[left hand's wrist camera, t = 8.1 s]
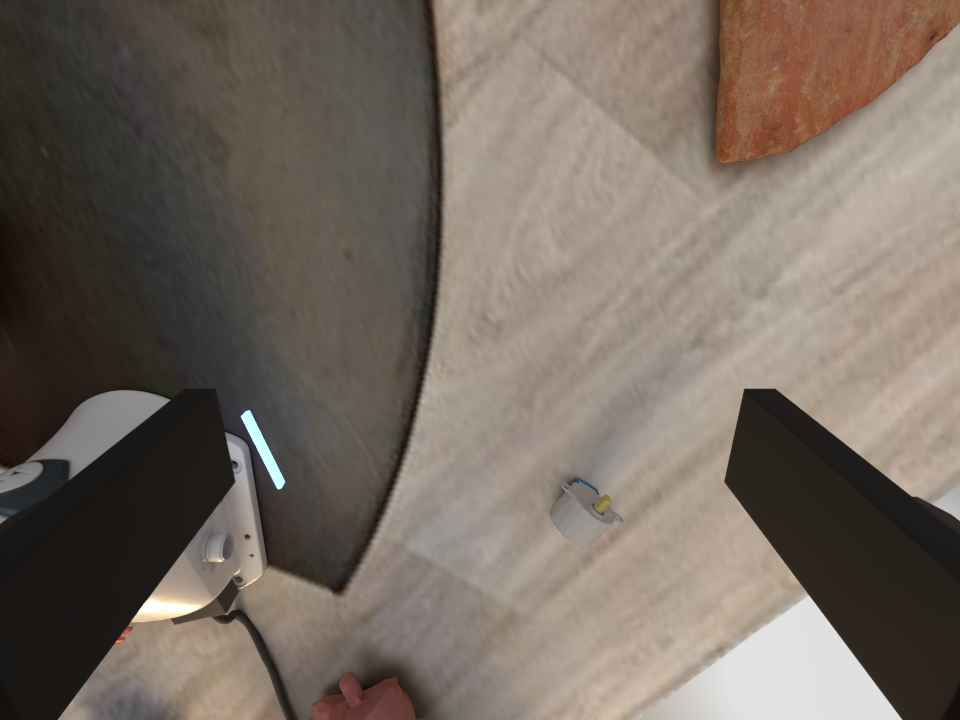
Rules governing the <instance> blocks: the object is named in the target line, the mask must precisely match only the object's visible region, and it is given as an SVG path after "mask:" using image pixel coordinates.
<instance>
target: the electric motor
mask: <svg viewBox="0 0 960 720" xmlns="http://www.w3.org/2000/svg"><path fill="white" fill-rule="evenodd" d="M560 485H561V487H562V488H563V489H564V490H565V492H564V493H563V495H562V496H561V497H560V498H559V499H558V501H557V502H556V503H555V504H554V505H553V506H552V507H551V509H550V516H551V519H552V521H553V524H554V525H555V527H556V528H557V529H558V531H559V532H560V533H561V534H562V535H563V536H564V537H565V538H566V539H567V540H569V541H570V542H571V543H573V544H575V545H577V546H579V547H581V548H589V547H590V546H591V545H592V544H593V543H594V542H595V541H596V540H597V539H598V538H599V537H600V536H601V535H602V534H603V533H604V532H605V531H606V530H607V528H608V527H609V526H610V525H611V524H612V523H613V522H614V520H615V521H617V522H618V523H620V524H623V523H624V521H623V519H622V518H621V516H620V515H619V514H617V513H615V512H614V511H612V510H611V509H610V507H609V506H608V505H609V504H610V503H611V499H610V497H609V496H608V495H604V496H603V497H602V498H601V497H600V496H599V493H598V490H597V489H595V488H594V487H592V486H590V485H589V484H587V483H585V482H584V481H582V480H580V479H579V478H577V479H576V480H575V481H574V482H573V483H572V484H571V486H570V485H568V484H566V483H565V482H561V483H560ZM564 485H565V486H566V487H567V488H568V489H566V488H565V486H564ZM616 516H617V517H618V518H619V519H620V520H619V519H618V518H617V517H616Z"/></svg>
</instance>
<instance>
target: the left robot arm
mask: <svg viewBox="0 0 960 720" xmlns="http://www.w3.org/2000/svg"><path fill="white" fill-rule="evenodd" d="M235 482H236V481H235V476H234V472H233V467H232V462H231V458H230V453H229V449H228V444H227V439H226V435H225V430H224V425H223V421H222V416H221V411H220V407H219V402H218V397H217V393H216V389H184V390H183V391H181V392H180V393H179V394H178V395H176V396H175V397H174V398H173V399H171V400H170V401H169V402H168V403H166V404H165V405H164V406H162V407H161V408H160V409H159V410H157V411H156V412H155V413H154V414H152V415H151V416H150V417H149V418H147V419H146V420H145V421H143V422H142V423H141V424H140V425H138V426H137V427H136V428H135V429H133V430H132V431H131V432H130V433H128V434H127V435H126V436H124V437H123V438H122V439H121V440H119V441H118V442H117V443H116V444H114V445H113V446H112V447H111V448H109V449H108V450H107V451H105V452H104V453H103V454H102V455H100V456H99V457H98V458H97V459H95V460H94V461H93V462H92V463H90V464H89V465H88V466H87V467H85V468H84V469H83V470H81V471H80V472H79V473H78V474H76V475H75V476H74V477H73V478H71V479H70V480H69V481H68V482H66V483H65V484H64V485H62V486H61V487H60V488H59V489H57V490H56V491H55V492H54V493H52V494H51V495H50V496H49V497H47V498H46V499H42V500H40V501H38V502H36V503H34V504H32V505H30V506H29V507H27V508H25V509H23V510H21V511H19V512H17V513H15V514H13V515H11V516H10V517H8V518H7V519H6V520H4V521H3V522H2V523H0V720H58V718H59V717H60V716H61V714H62V713H63V712H64V710H65V709H66V708H67V706H68V705H69V704H70V702H71V701H72V700H73V698H74V697H75V696H76V694H77V693H78V692H79V690H80V689H81V688H82V686H83V685H84V684H85V682H86V681H87V680H88V678H89V677H90V676H91V674H92V673H93V672H94V670H95V669H96V668H97V666H98V665H99V664H100V662H101V661H102V660H103V658H104V657H105V656H106V654H107V653H108V652H109V650H110V649H111V648H112V646H113V645H114V644H115V642H116V641H117V640H118V638H119V637H120V636H121V634H122V633H123V632H124V630H125V629H126V628H127V626H128V625H129V624H130V622H131V621H132V620H133V618H134V617H135V616H136V614H137V613H138V612H139V610H140V609H141V608H142V606H143V605H144V604H145V602H146V601H147V600H148V598H149V597H150V596H151V594H152V593H153V592H154V590H155V589H156V588H157V586H158V585H159V584H160V582H161V581H162V580H163V578H164V577H165V576H166V574H167V573H168V572H169V570H170V569H171V568H172V566H173V565H174V564H175V562H176V561H177V560H178V558H179V557H180V556H181V554H182V553H183V552H184V550H185V549H186V547H187V546H188V545H189V543H190V542H191V541H192V539H193V538H194V537H195V535H196V534H197V533H198V531H199V530H200V529H201V527H202V526H203V525H204V523H205V522H206V521H207V519H208V518H209V517H210V515H211V514H212V513H213V511H214V510H215V509H216V507H217V506H218V505H219V503H220V502H221V501H222V499H223V498H224V497H225V495H226V494H227V493H228V491H229V490H230V489H231V487H232V486H233V485H234V483H235ZM724 482H725V483H726V485H727V486H728V487H729V489H730V490H731V491H732V493H733V494H734V495H735V497H736V498H737V499H738V501H739V502H740V503H741V505H742V506H743V507H744V509H745V510H746V511H747V513H748V514H749V515H750V517H751V518H752V519H753V521H754V522H755V523H756V525H757V526H758V527H759V529H760V530H761V531H762V533H763V534H764V535H765V537H766V538H767V539H768V541H769V542H770V543H771V545H772V546H773V548H774V549H775V550H776V552H777V553H778V554H779V556H780V557H781V558H782V560H783V561H784V562H785V564H786V565H787V566H788V568H789V569H790V570H791V572H792V573H793V574H794V576H795V577H796V578H797V580H798V581H799V582H800V584H801V585H802V586H803V588H804V589H805V590H806V592H807V593H808V594H809V596H810V597H811V598H812V599H813V601H814V602H815V603H816V605H817V606H818V608H819V609H820V610H821V612H822V613H823V614H824V616H825V617H826V618H827V620H828V621H829V622H830V624H831V625H832V626H833V628H834V629H835V630H836V632H837V633H838V634H839V636H840V637H841V638H842V640H843V641H844V642H845V644H846V645H847V646H848V648H849V649H850V650H851V652H852V653H853V654H854V656H855V657H856V658H857V660H858V661H859V662H860V664H861V665H862V666H863V668H864V669H865V670H866V672H867V673H868V674H869V676H870V677H871V678H872V680H873V681H874V682H875V684H876V685H877V686H878V688H879V689H880V690H881V692H882V693H883V694H884V696H885V697H886V698H887V700H888V701H889V702H890V704H891V705H892V706H893V708H894V709H895V710H896V712H897V713H898V714H899V716H900V717H901V718H902V720H960V521H959V520H958V519H956V518H955V517H954V516H952V515H951V514H949V513H947V512H945V511H943V510H941V509H940V508H938V507H936V506H934V505H932V504H930V503H928V502H926V501H924V500H922V499H920V498H918V497H911V496H910V495H909V494H908V493H906V492H905V491H904V490H903V489H901V488H900V487H899V486H898V485H896V484H895V483H894V482H892V481H891V480H890V479H889V478H887V477H886V476H885V475H884V474H882V473H881V472H880V471H879V470H877V469H876V468H875V467H873V466H872V465H871V464H870V463H868V462H867V461H866V460H865V459H863V458H862V457H861V456H860V455H858V454H857V453H856V452H855V451H853V450H852V449H851V448H849V447H848V446H847V445H846V444H844V443H843V442H842V441H841V440H839V439H838V438H837V437H836V436H834V435H833V434H832V433H830V432H829V431H828V430H827V429H825V428H824V427H823V426H822V425H820V424H819V423H818V422H817V421H815V420H814V419H813V418H811V417H810V416H809V415H808V414H806V413H805V412H804V411H803V410H801V409H800V408H799V407H798V406H796V405H795V404H794V403H792V402H791V401H790V400H789V399H787V398H786V397H785V396H784V395H782V394H781V393H780V392H779V391H777V390H776V389H744V393H743V397H742V402H741V407H740V411H739V416H738V421H737V425H736V430H735V435H734V439H733V444H732V449H731V453H730V458H729V462H728V467H727V472H726V476H725V481H724Z"/></svg>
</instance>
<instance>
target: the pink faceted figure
mask: <svg viewBox="0 0 960 720" xmlns="http://www.w3.org/2000/svg"><path fill="white" fill-rule="evenodd" d="M339 686H340V689H341V691H342V693H343V695H338V694H337V695H329V696H325V697H323V698H321V699H319V700H318V701H316V702H315V703H314V704H313V705H312V706H311V709H312V710H313V714H312V717H311V719H310V720H425V719H422V718H416V717H415V713H414V708H413V705H412V702H411V700H410V698H409V697H408V695H407V694H406V693H405V692H404V691H403V690H401V688H400V686H399V685H398V682H397V677H393V678H391V679H386V680H383V681H381V682H380V683H379V684H377V685H375V686H373V687H370V688H368V689H367V690H365V691H363V690H362V688H361V686H360V684H359V682H358V680H357V678H356V677H355V675H354V674H353V673H352V672H348V673H346V674H344V675H343V676H342V677H341V679H340V682H339Z"/></svg>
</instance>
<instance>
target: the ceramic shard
mask: <svg viewBox="0 0 960 720" xmlns="http://www.w3.org/2000/svg"><path fill="white" fill-rule="evenodd" d="M959 22H960V0H720V35H719V49H720V61H721V68H720V82H719V86H718V95H717V110H716V132H715V153H716V157H717V160H718V161H719V162H720V163H729V162H737V161H748V160H752V159H759V158H761V157H763V156H767V155H772V154H777V153H782V152H790V151H792V150H794V149H795V148H796V147H797V146H799V145H801V144H803V143H805V142H807V141H808V140H809V139H811V138H813V137H815V136H816V135H818V134H820V133H822V132H824V131H826V130H828V129H829V128H830V127H831V126H832V125H833V124H835V123H836V122H838V121H839V120H841V119H842V118H844V117H846V116H848V115H849V114H850V113H852V112H853V111H855V110H858V109H860V108H862V107H864V106H866V105H867V104H869V103H870V102H871V101H873V100H874V99H876V98H877V97H878V96H879V95H880V94H881V93H882V92H884V91H885V90H886V89H887V88H889V87H890V86H891V85H892V84H893V83H894V82H896V81H897V80H898V79H899V78H900V77H901V76H902V75H903V74H904V73H905V72H906V71H908V70H909V69H910V68H912V67H913V66H915V65H916V64H917V63H918V62H920V61H921V60H922V58H923V57H924V56H925V55H926V54H927V52H928V51H929V50H930V49H931V48H932V47H933V46H934V45H935V44H936V43H937V42H938V41H940V40H941V39H943V38H944V37H946V36H947V35H948V33H949V32H950V31H951V30H952V29H953V28H954V27H955V26H956V25H957V24H958V23H959Z"/></svg>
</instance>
